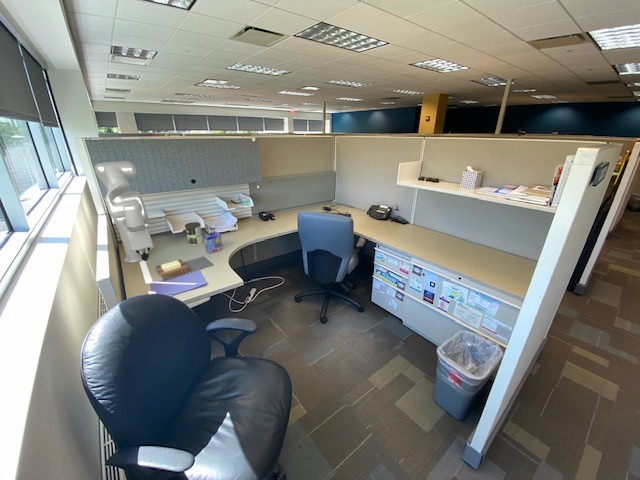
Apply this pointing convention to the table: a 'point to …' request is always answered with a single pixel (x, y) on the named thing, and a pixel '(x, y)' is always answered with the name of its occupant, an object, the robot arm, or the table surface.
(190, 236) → the coffee can
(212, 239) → the ink cartridge box
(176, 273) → the block
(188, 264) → the mat
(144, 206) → the robot arm
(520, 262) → the table surface
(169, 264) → the notepad
